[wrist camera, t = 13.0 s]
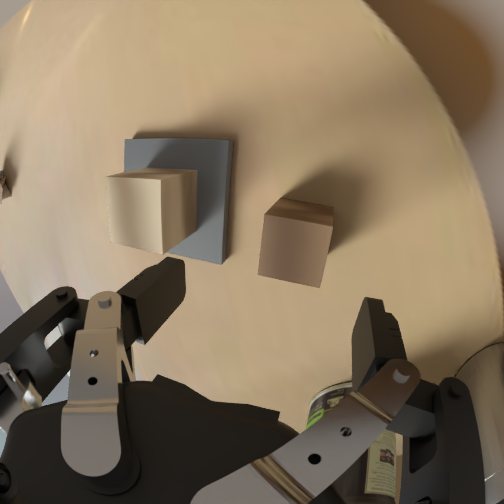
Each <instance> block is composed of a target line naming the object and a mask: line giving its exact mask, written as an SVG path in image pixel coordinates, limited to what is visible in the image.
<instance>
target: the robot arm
mask: <svg viewBox="0 0 504 504" xmlns="http://www.w3.org/2000/svg"><path fill="white" fill-rule="evenodd" d="M185 293H186V282H185V263H184V261H183V260H181V259H176V258H172V257H166V258H165V259H164V260H162V261H161V262H160V263H159V264H157V265H154V266H151V267H148V268H146V269H145V270H144V271H142V272H141V273H140V274H139V275H137V276H136V277H135V278H134V279H132V280H131V281H130V282H128V283H127V284H126V285H124V286H123V287H122V288H121V289H120V290H118V291H117V292H112V291H104V292H100V293H97V294H95V295H94V296H92V297H91V298H90V300H85V299H78V297H77V293H76V290H75V289H74V288H72V287H68V286H65V287H60V288H57V289H55V290H53V291H52V292H51V293H49V294H48V295H47V296H45V297H44V298H43V299H42V300H40V301H39V302H38V303H37V304H35V305H34V306H33V307H31V308H30V309H29V310H28V311H27V312H25V313H24V314H23V315H22V316H20V318H18V319H17V320H16V321H14V322H13V323H12V324H11V325H10V326H9V327H7V328H6V329H5V330H4V331H3V332H2V333H1V334H0V428H1V429H2V430H3V431H4V432H5V433H7V438H6V443H5V446H4V449H3V452H2V455H1V457H0V504H346V502H345V501H344V499H343V498H342V496H341V495H340V493H339V492H338V490H337V489H336V487H335V485H334V484H333V482H334V481H335V480H336V479H337V478H338V477H339V476H340V475H342V474H343V473H344V472H345V471H346V470H347V469H348V468H349V467H350V466H351V465H352V464H353V463H354V462H355V461H356V460H357V459H358V458H359V457H360V456H361V455H362V454H363V453H364V452H365V451H366V450H367V449H368V447H369V446H370V445H371V444H372V443H373V442H374V441H375V440H376V439H377V437H378V436H379V435H380V434H381V433H382V432H383V430H384V429H387V430H389V431H392V432H395V433H398V434H401V435H403V458H402V478H401V490H400V500H399V504H504V343H499V344H495V345H492V346H489V347H487V348H485V349H484V350H482V351H480V352H479V353H477V354H476V355H475V356H473V357H472V358H471V359H470V360H469V361H468V362H467V363H466V364H465V365H464V366H463V367H462V368H461V369H460V371H459V372H458V373H457V375H456V377H455V378H454V377H448V378H445V379H444V380H443V381H442V382H441V383H440V384H439V386H438V385H435V384H433V383H430V382H427V381H424V380H422V379H420V373H419V371H418V369H417V368H416V367H415V366H414V365H413V364H412V363H411V362H409V361H407V357H406V352H405V348H404V344H403V340H402V338H401V337H402V336H401V332H400V328H399V325H398V321H397V320H396V319H395V317H394V316H393V315H392V314H391V313H387V312H385V308H384V304H383V301H382V300H381V299H375V298H369V297H365V298H364V300H363V302H362V305H361V308H360V311H359V314H358V317H357V320H356V323H355V325H354V329H353V333H352V392H351V393H350V394H349V395H347V396H346V397H345V398H344V399H343V400H342V401H341V402H339V403H338V404H337V405H336V406H335V407H334V408H332V409H331V410H330V411H329V412H328V413H326V414H325V415H324V416H323V417H321V418H320V419H319V420H318V421H316V422H315V423H314V424H313V425H311V426H310V427H309V428H307V429H306V430H305V431H303V432H302V433H301V434H299V433H298V432H297V431H295V430H294V429H293V428H291V427H290V426H288V425H286V424H284V423H282V422H280V421H278V418H279V414H280V412H279V411H275V410H270V409H266V408H261V407H257V406H253V405H249V404H238V403H225V402H215V401H211V400H209V399H207V398H206V397H204V396H202V395H201V394H199V393H197V392H196V391H194V390H192V389H191V388H189V387H188V386H186V385H185V384H182V383H179V382H176V381H174V380H171V379H169V378H166V377H163V376H161V375H158V374H157V376H156V377H155V379H154V380H153V381H136V377H135V368H134V356H133V347H132V344H133V343H134V342H135V341H136V342H138V343H141V344H143V345H145V344H146V343H147V342H148V341H149V340H150V338H151V337H152V336H153V335H154V334H155V333H156V332H157V330H158V329H159V328H160V327H161V326H162V325H163V323H164V322H165V321H166V320H167V319H168V318H169V317H170V315H171V314H172V313H173V312H174V311H175V310H176V309H177V307H178V306H179V305H180V304H181V303H182V301H183V300H184V297H185ZM56 326H58V327H59V330H60V332H61V335H62V336H61V337H60V338H59V339H58V340H56V341H55V342H54V343H53V344H52V345H51V346H50V347H49V348H48V349H47V350H46V348H45V345H44V340H45V338H46V336H47V335H48V334H49V333H50V332H51V331H52V330H53V329H54V328H55V327H56ZM70 369H71V370H70ZM69 370H70V379H69V391H68V400H65V401H61V402H58V403H53V404H50V405H45V406H41V404H42V402H43V401H44V400H45V398H46V397H47V396H48V395H49V394H50V392H51V391H52V390H53V389H54V388H55V386H56V385H57V384H58V383H59V382H60V381H61V380H62V378H63V377H64V376H65V375H66V374H67V373H68V372H69Z"/></svg>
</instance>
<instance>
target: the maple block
mask: <svg viewBox="0 0 504 504" xmlns="http://www.w3.org/2000/svg"><path fill="white" fill-rule="evenodd" d="M197 175H198V170H188V169H171V168H150V167H146V168H141V169H136V170H132V171H128V172H123V173H119V174H115V175H111V176H107V177H106V198H107V212H108V223H109V233H110V241H111V242H112V243H116V244H120V245H125V246H129V247H133V248H137V249H141V250H146V251H150V252H154V253H158V254H164V253H166V252H167V251H169V250H170V249H171V248H173V247H174V246H176V245H177V244H179V243H180V242H181V241H183V240H184V239H186V238H187V237H189V236H190V235H192V234H193V233H194V232H196V214H197Z"/></svg>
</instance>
